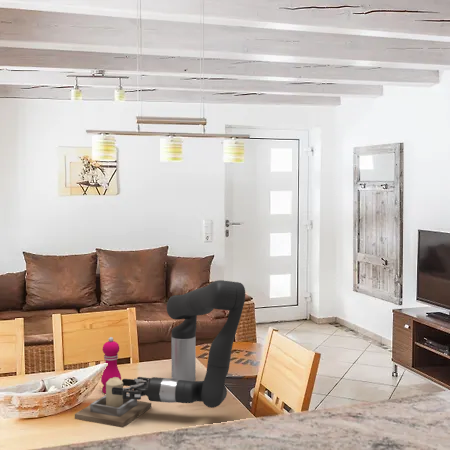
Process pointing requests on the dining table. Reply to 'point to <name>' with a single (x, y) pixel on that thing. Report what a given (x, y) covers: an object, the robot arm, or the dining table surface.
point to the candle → (110, 398)
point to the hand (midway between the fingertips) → (117, 386)
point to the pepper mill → (110, 362)
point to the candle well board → (113, 412)
